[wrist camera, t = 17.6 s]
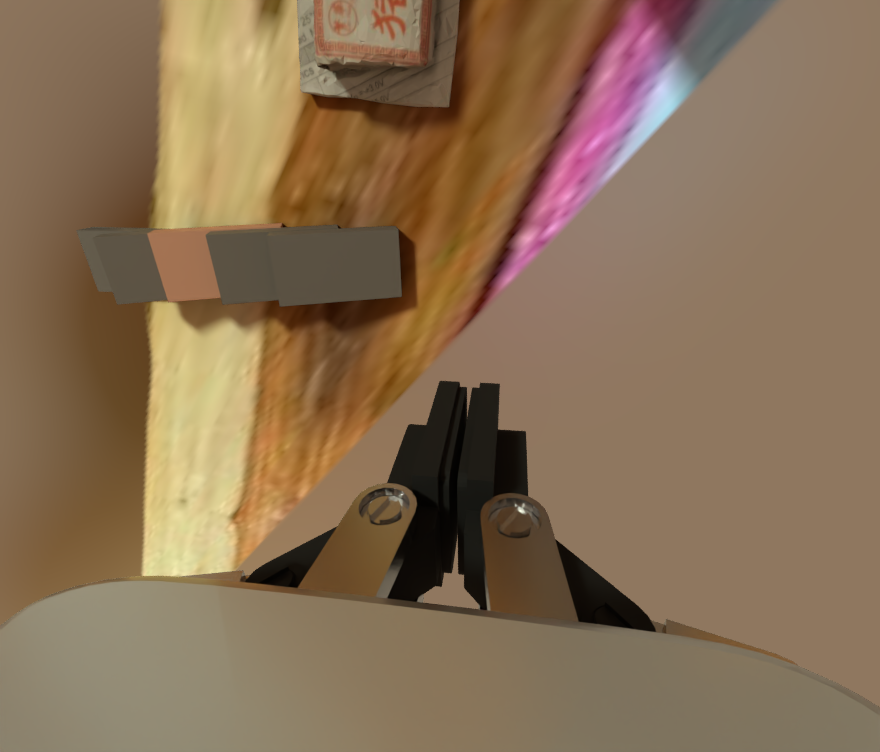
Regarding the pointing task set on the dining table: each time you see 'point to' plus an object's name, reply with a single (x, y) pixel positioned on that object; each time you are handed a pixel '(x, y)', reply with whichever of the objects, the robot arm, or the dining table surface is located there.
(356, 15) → the packaged product
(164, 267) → the domino
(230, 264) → the domino
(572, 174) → the dining table surface
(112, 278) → the domino
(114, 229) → the domino
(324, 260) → the domino
